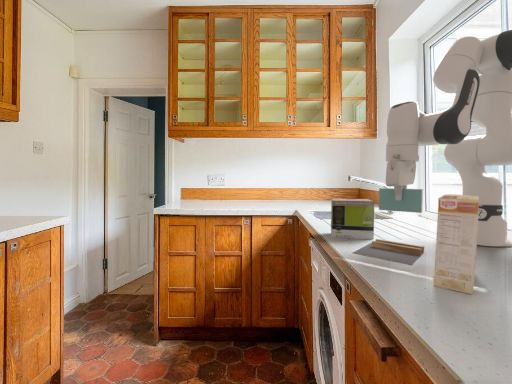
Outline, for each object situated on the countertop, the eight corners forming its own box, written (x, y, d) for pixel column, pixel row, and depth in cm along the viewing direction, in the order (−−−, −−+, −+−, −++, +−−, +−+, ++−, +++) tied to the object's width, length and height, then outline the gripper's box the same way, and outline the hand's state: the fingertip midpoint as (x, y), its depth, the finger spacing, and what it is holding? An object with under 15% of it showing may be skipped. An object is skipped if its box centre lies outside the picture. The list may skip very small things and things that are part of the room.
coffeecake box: (439, 268, 71) (444, 193, 70) (474, 275, 67) (480, 195, 66) (431, 286, 60) (437, 197, 58) (473, 295, 55) (480, 199, 54)
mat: (370, 244, 95) (371, 242, 95) (424, 253, 85) (424, 251, 84) (351, 254, 82) (351, 253, 82) (411, 267, 72) (411, 265, 72)
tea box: (368, 235, 110) (370, 198, 109) (373, 241, 100) (375, 201, 99) (330, 233, 113) (331, 197, 112) (331, 238, 104) (332, 199, 103)
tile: (380, 209, 91) (380, 188, 90) (422, 212, 83) (422, 189, 82) (378, 209, 89) (379, 188, 89) (421, 212, 82) (421, 189, 81)
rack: (376, 244, 93) (376, 238, 93) (423, 252, 84) (424, 246, 84) (371, 246, 90) (371, 241, 89) (420, 255, 80) (421, 249, 80)
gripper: (404, 153, 75) (403, 203, 76) (419, 156, 90) (418, 198, 91) (380, 154, 79) (379, 202, 80) (399, 157, 95) (397, 197, 96)
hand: (400, 199), depth 86 cm, fingers closed on tile, 2 cm apart
